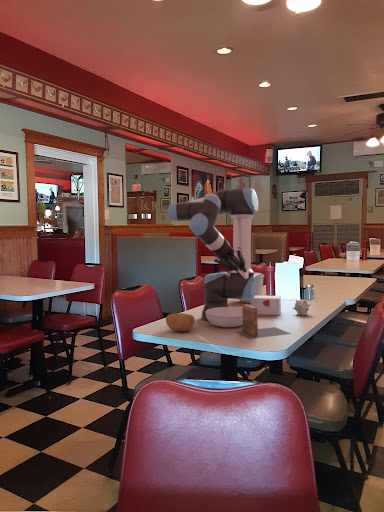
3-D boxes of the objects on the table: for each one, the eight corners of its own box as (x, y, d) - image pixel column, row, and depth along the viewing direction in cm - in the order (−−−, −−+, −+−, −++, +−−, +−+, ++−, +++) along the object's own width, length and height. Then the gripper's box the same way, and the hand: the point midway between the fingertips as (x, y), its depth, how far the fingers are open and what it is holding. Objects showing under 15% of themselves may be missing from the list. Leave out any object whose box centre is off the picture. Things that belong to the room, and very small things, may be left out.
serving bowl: (214, 332, 177) (214, 317, 176) (200, 322, 197) (199, 308, 196) (258, 328, 182) (258, 313, 182) (240, 319, 203) (239, 305, 202)
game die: (298, 322, 211) (287, 307, 210) (302, 313, 218) (290, 299, 217) (313, 315, 205) (301, 300, 205) (316, 306, 212) (304, 291, 212)
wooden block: (252, 336, 167) (252, 307, 166) (242, 332, 175) (242, 304, 175) (258, 336, 168) (257, 307, 167) (247, 331, 176) (247, 304, 176)
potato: (173, 327, 189) (173, 310, 188) (199, 330, 181) (198, 313, 181) (160, 331, 181) (160, 314, 180) (186, 335, 173) (186, 317, 173)
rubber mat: (248, 339, 164) (248, 338, 164) (234, 332, 176) (234, 331, 176) (291, 334, 171) (291, 333, 171) (274, 328, 183) (274, 327, 183)
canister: (252, 305, 241) (251, 269, 240) (229, 302, 254) (228, 268, 253) (270, 301, 253) (270, 267, 252) (248, 298, 266) (247, 266, 265)
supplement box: (250, 297, 214) (279, 298, 209) (252, 295, 222) (280, 295, 218) (250, 314, 214) (279, 315, 210) (253, 311, 223) (281, 312, 218)
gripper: (203, 256, 166) (233, 287, 179) (230, 245, 159) (260, 278, 173) (205, 242, 171) (234, 274, 184) (231, 231, 164) (260, 265, 177)
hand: (246, 276), depth 178 cm, fingers closed
